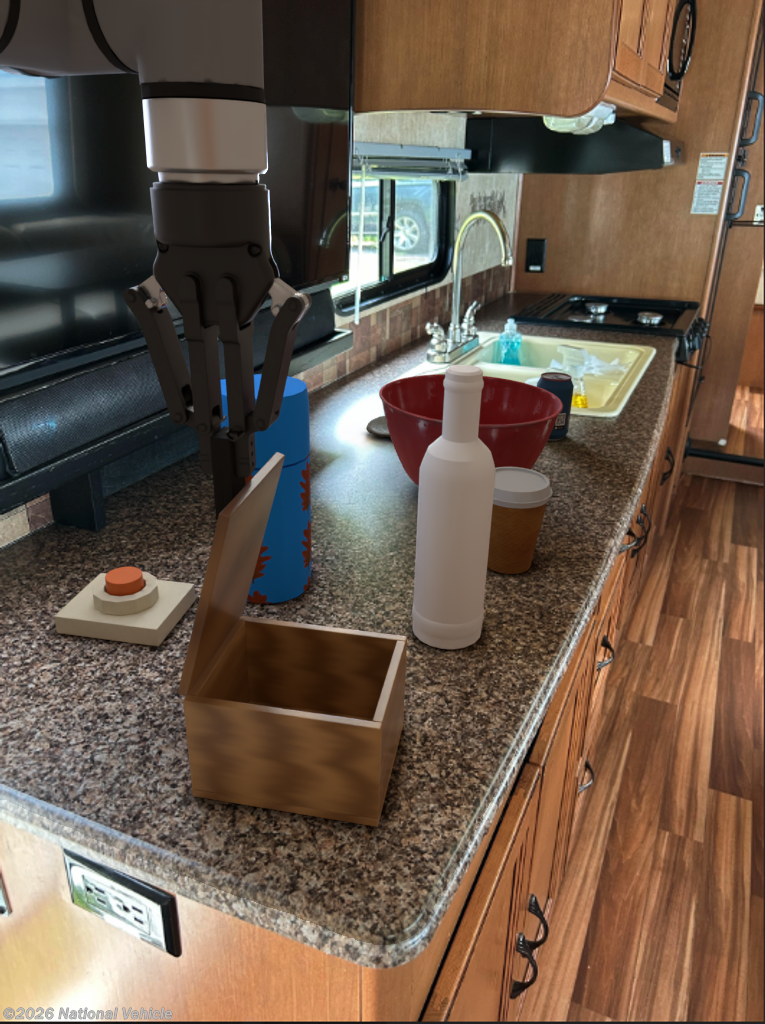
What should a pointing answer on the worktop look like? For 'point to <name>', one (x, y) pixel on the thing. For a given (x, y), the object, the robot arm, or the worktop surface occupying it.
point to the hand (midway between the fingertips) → (231, 513)
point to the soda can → (563, 390)
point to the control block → (127, 611)
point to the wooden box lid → (230, 569)
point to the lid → (378, 427)
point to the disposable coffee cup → (516, 518)
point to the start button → (124, 581)
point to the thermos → (284, 499)
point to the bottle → (454, 520)
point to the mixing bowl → (502, 423)
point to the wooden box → (298, 719)
